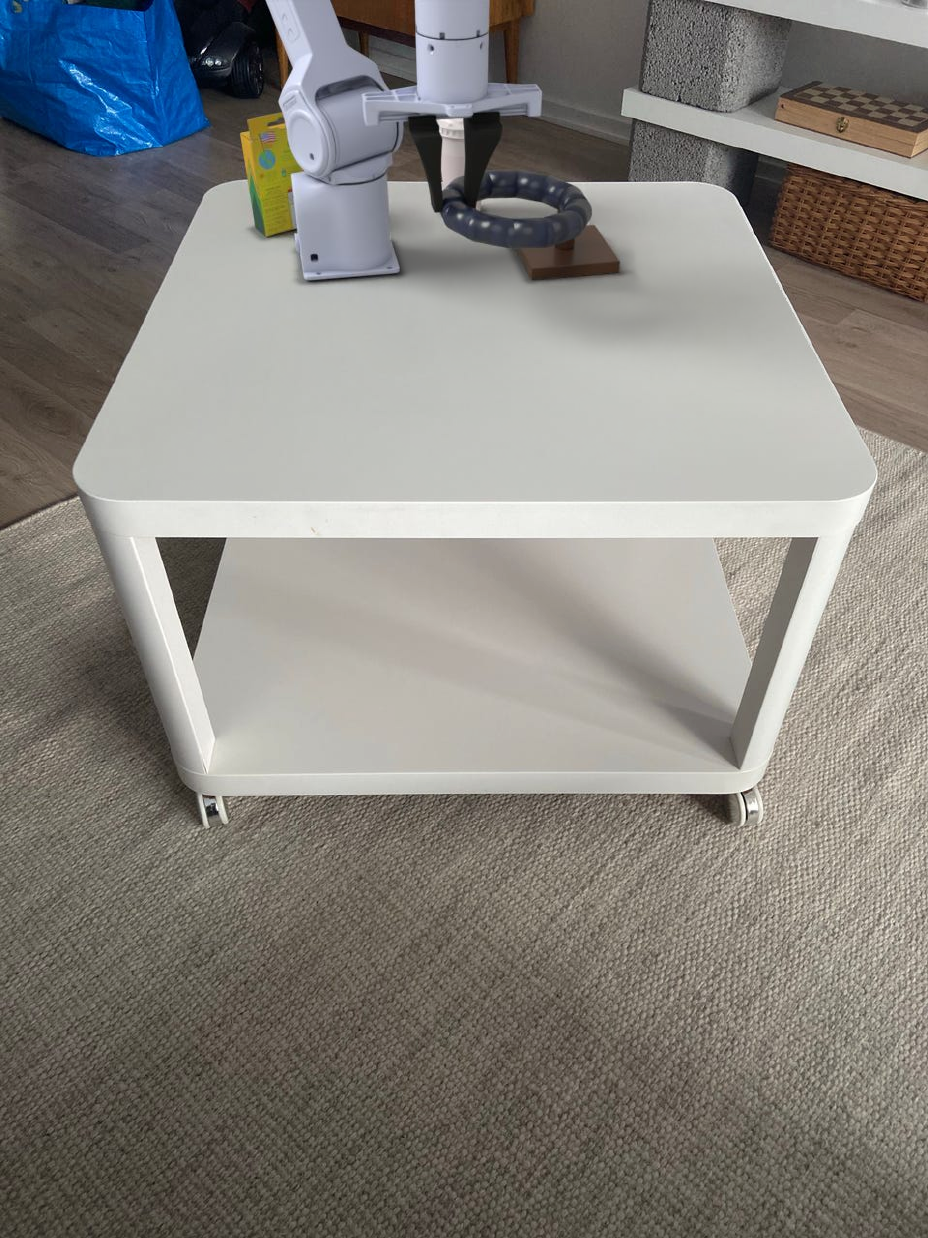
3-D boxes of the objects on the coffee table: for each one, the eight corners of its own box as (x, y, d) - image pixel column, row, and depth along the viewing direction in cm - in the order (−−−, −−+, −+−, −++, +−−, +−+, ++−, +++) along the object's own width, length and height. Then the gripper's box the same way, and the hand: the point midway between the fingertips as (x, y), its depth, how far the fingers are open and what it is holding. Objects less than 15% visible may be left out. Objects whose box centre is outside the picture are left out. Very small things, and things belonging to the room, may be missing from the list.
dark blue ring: (452, 255, 81) (453, 226, 79) (427, 193, 90) (428, 167, 89) (606, 250, 83) (610, 222, 82) (566, 190, 93) (569, 164, 91)
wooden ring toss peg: (531, 280, 96) (534, 211, 91) (511, 242, 102) (513, 176, 97) (619, 272, 97) (627, 204, 92) (593, 235, 103) (600, 170, 98)
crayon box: (315, 213, 107) (303, 98, 99) (327, 222, 105) (316, 106, 97) (253, 228, 104) (235, 110, 96) (264, 237, 103) (247, 119, 94)
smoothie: (436, 200, 110) (434, 62, 100) (493, 201, 110) (496, 63, 100) (432, 223, 105) (429, 81, 95) (491, 224, 105) (494, 82, 95)
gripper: (364, 48, 72) (375, 231, 81) (555, 39, 74) (544, 219, 83) (355, 24, 77) (366, 198, 86) (534, 16, 79) (525, 188, 88)
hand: (453, 206), depth 85 cm, fingers closed on dark blue ring, 2 cm apart
